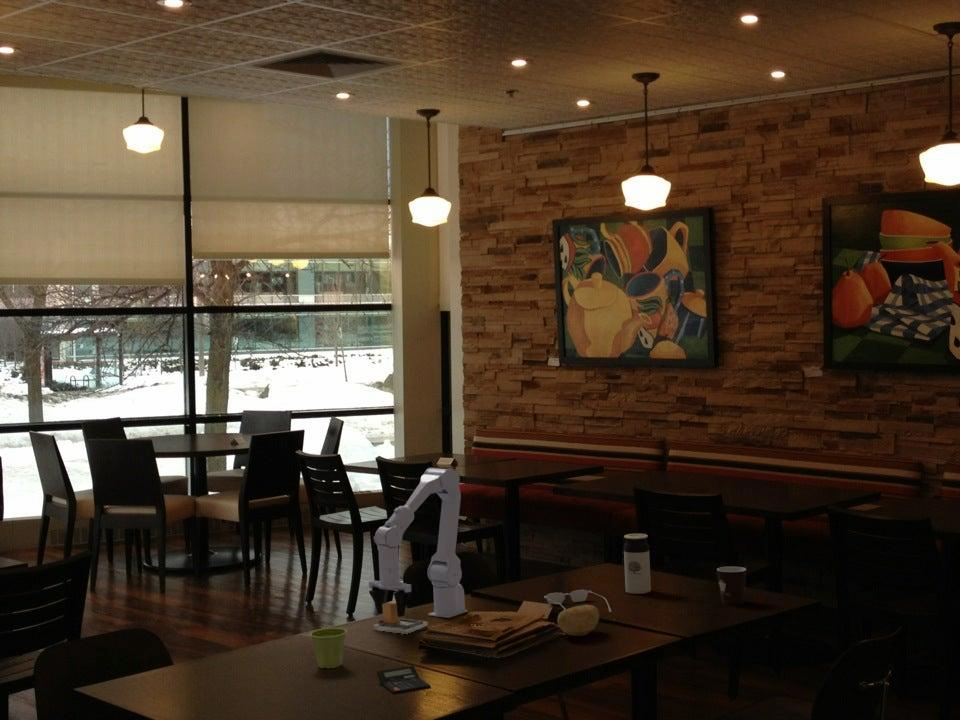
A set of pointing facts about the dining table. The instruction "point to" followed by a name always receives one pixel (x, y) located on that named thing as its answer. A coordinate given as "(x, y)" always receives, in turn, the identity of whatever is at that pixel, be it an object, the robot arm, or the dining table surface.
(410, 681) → the calculator
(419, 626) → the console plate
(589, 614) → the potato
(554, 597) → the eyeglasses
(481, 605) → the dining table surface
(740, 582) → the coffee mug
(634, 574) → the travel mug
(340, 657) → the plant pot
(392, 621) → the tan upright block
